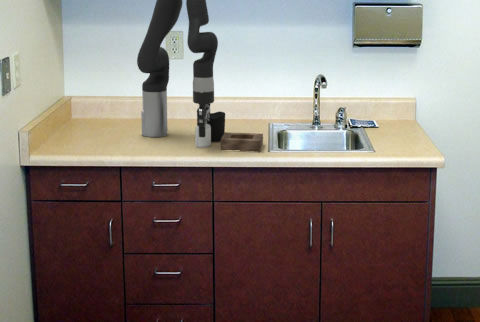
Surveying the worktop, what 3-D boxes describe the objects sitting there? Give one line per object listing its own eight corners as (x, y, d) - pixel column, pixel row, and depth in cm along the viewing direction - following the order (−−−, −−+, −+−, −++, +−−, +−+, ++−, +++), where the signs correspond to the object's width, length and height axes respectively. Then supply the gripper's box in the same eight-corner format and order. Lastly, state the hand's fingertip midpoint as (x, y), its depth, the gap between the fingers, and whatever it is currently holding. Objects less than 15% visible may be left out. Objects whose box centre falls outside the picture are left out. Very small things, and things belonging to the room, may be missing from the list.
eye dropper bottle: (211, 148, 278) (211, 115, 275) (195, 148, 278) (195, 115, 274) (210, 145, 282) (210, 112, 279) (195, 145, 282) (194, 112, 279)
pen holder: (210, 135, 297) (210, 109, 294) (230, 139, 292) (230, 112, 289) (195, 140, 289) (194, 113, 286) (215, 143, 284) (215, 117, 281)
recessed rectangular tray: (220, 150, 275) (220, 139, 274) (224, 142, 285) (224, 132, 284) (259, 152, 273) (260, 141, 272) (262, 144, 284) (262, 133, 283)
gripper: (196, 85, 281) (197, 130, 285) (189, 92, 268) (190, 138, 272) (217, 86, 280) (217, 130, 285) (210, 92, 267) (211, 139, 271)
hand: (204, 134), depth 278 cm, fingers open, 7 cm apart
